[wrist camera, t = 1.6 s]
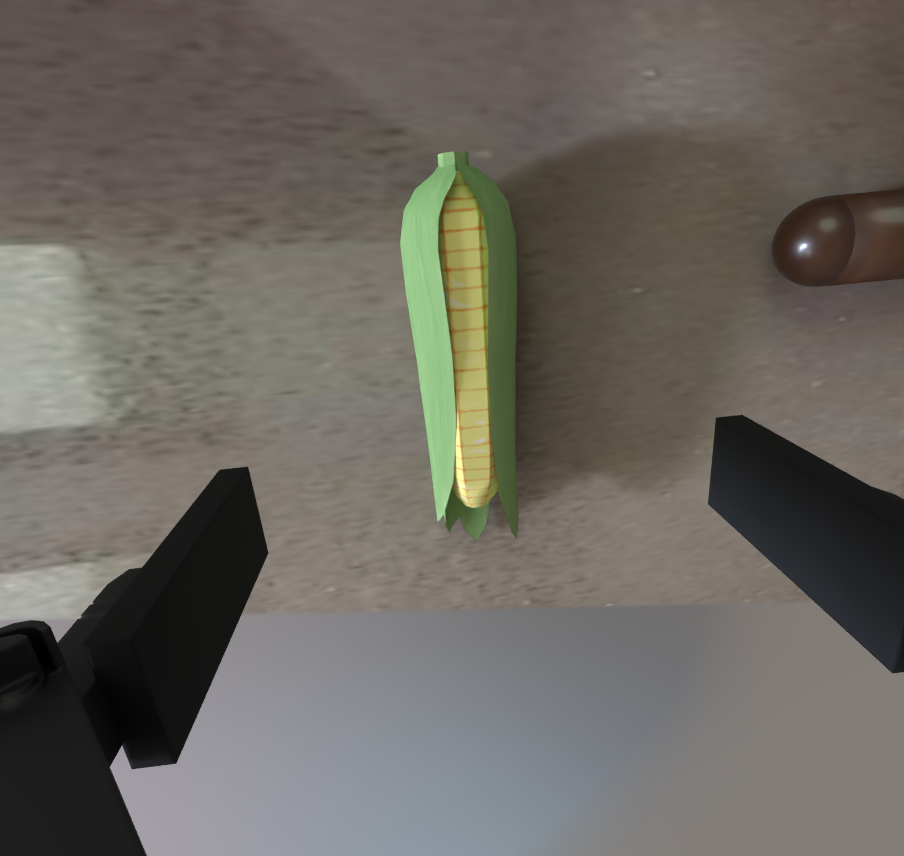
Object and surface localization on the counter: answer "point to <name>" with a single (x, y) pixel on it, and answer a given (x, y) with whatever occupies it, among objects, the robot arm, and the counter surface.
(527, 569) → the counter surface
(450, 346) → the edible corn
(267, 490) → the counter surface
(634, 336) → the counter surface
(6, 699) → the robot arm
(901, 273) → the dark brown capsule
